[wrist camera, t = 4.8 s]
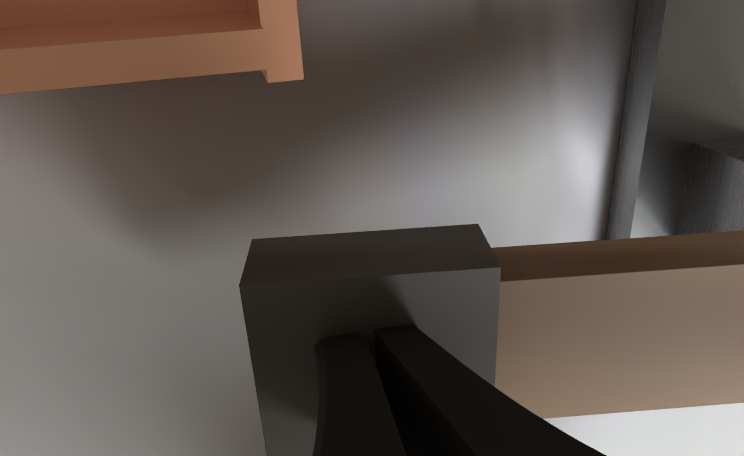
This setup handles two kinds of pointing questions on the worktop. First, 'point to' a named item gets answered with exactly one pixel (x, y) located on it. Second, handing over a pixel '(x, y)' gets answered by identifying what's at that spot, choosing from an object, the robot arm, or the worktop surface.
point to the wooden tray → (503, 317)
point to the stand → (682, 122)
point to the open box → (144, 41)
